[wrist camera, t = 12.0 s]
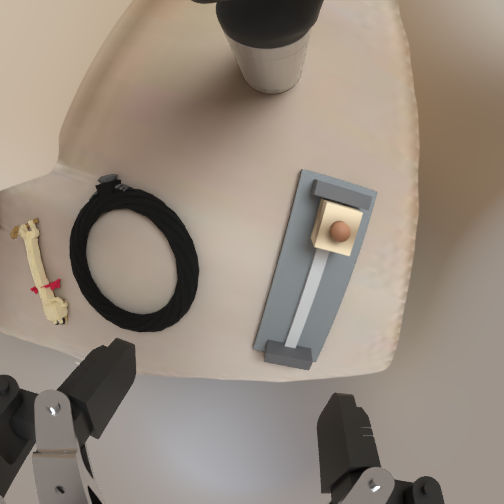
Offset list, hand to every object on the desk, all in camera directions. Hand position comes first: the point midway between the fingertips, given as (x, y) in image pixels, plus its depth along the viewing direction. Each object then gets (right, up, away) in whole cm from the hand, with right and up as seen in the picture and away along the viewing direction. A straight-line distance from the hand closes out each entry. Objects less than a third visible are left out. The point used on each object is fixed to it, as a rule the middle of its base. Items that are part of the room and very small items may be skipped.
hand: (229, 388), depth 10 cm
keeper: (+12, +10, +30) cm, 33 cm away
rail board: (+11, +1, +35) cm, 37 cm away
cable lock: (-21, +5, +38) cm, 44 cm away
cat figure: (-46, +1, +42) cm, 62 cm away
